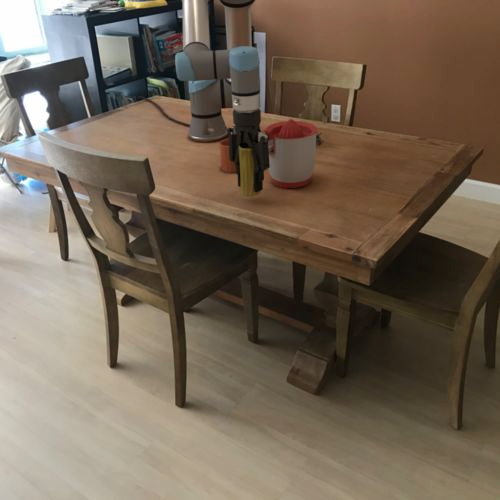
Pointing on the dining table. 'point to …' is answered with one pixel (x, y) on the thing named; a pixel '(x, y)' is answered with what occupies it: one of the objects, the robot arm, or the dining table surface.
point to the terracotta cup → (226, 157)
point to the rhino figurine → (318, 139)
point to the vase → (247, 171)
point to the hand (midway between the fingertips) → (250, 187)
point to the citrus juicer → (291, 152)
